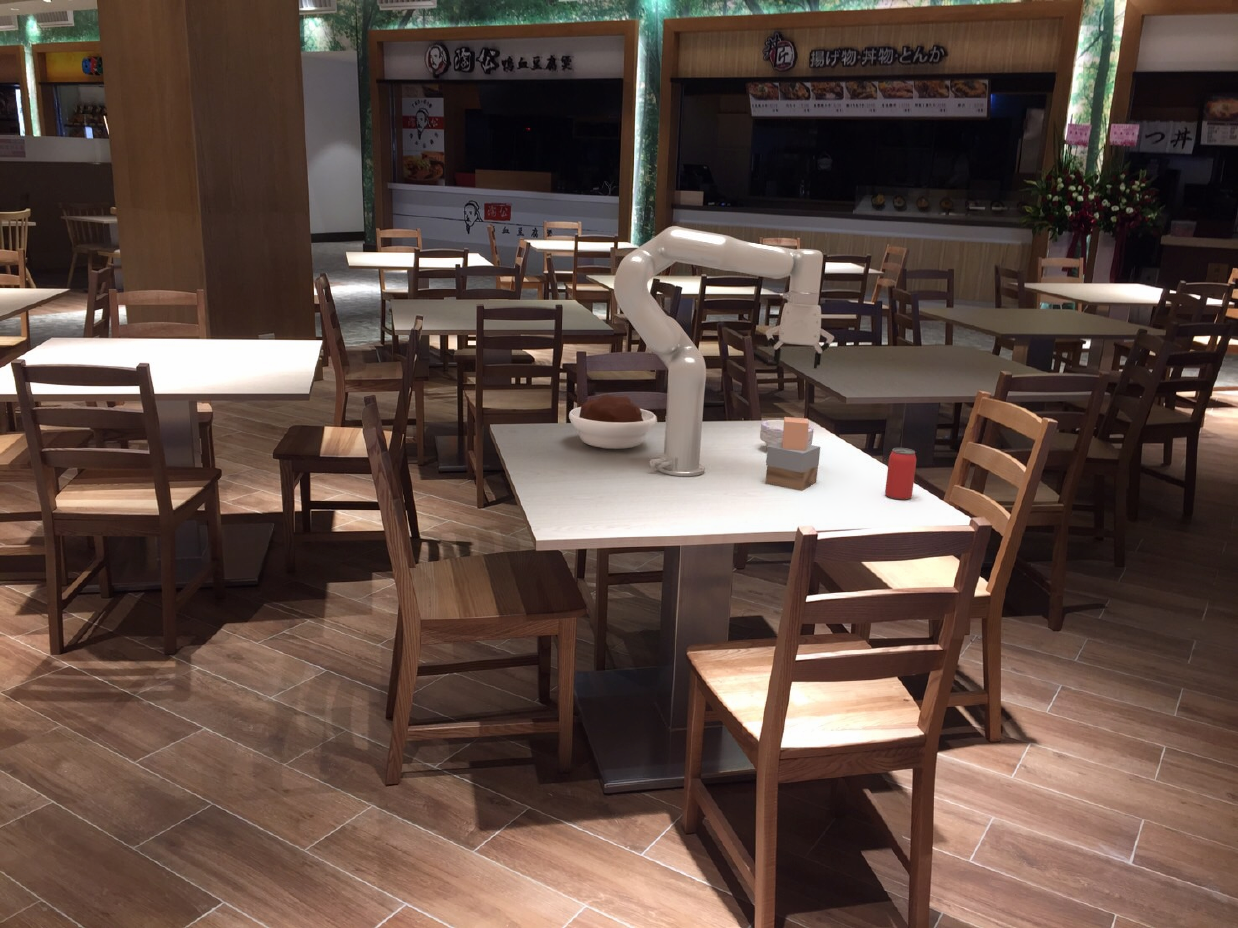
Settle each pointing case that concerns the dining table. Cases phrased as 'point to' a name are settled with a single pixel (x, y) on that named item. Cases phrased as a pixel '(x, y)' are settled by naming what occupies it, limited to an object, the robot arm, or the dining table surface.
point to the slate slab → (793, 457)
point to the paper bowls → (777, 432)
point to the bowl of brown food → (611, 422)
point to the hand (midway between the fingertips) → (796, 366)
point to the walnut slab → (791, 478)
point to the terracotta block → (795, 433)
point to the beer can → (900, 473)
